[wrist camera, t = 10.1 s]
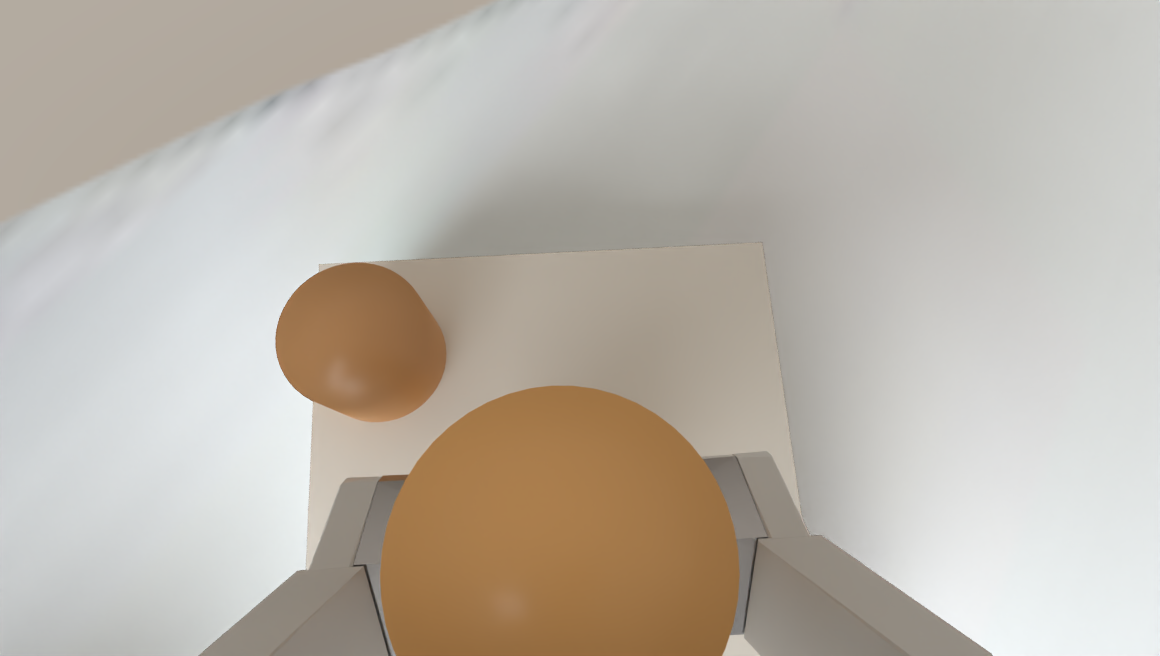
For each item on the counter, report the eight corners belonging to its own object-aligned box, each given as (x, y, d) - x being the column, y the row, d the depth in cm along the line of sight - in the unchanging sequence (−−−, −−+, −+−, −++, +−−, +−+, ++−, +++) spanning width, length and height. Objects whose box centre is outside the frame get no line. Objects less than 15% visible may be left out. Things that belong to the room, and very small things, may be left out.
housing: (359, 807, 15) (237, 986, 10) (369, 315, 19) (282, 227, 13) (781, 772, 16) (906, 924, 10) (721, 296, 19) (791, 203, 13)
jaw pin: (497, 609, 14) (377, 781, 5) (492, 463, 15) (381, 395, 6) (640, 599, 14) (762, 750, 5) (628, 454, 15) (718, 376, 6)
